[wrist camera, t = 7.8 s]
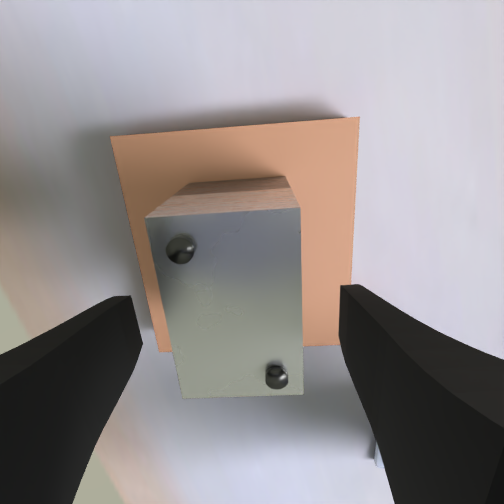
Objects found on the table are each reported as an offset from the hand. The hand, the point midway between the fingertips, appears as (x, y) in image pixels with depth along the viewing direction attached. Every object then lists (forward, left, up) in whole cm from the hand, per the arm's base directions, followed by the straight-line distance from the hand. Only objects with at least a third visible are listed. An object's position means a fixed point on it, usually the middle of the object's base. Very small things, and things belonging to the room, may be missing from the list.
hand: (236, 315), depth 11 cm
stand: (0, 0, -8) cm, 8 cm away
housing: (0, 0, -6) cm, 6 cm away
